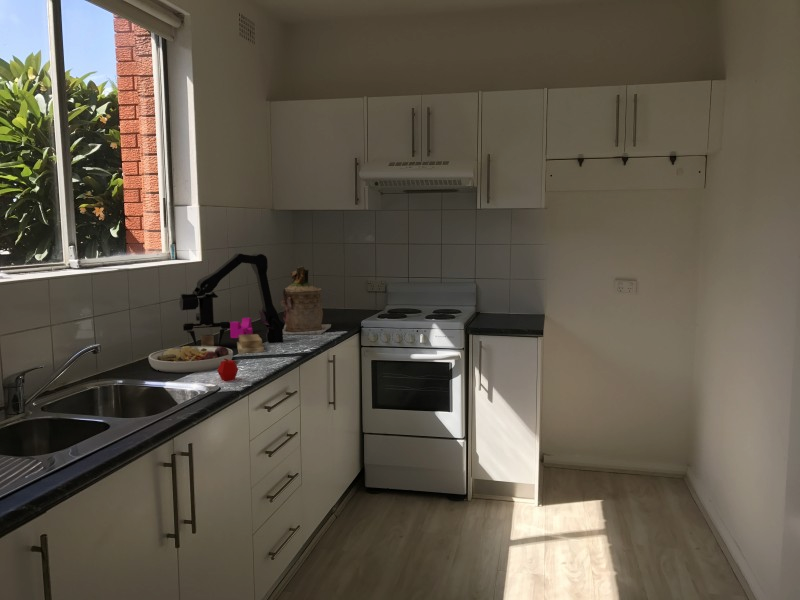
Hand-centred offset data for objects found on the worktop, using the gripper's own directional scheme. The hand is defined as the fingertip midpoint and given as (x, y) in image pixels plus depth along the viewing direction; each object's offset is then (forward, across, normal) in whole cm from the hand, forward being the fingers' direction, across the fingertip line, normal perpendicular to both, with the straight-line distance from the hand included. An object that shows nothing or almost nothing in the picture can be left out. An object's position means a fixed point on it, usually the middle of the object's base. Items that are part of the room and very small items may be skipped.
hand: (207, 345), depth 282 cm
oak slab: (-1, -17, +7) cm, 18 cm away
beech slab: (+2, -17, +7) cm, 18 cm away
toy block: (+2, -17, -30) cm, 34 cm away
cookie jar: (+2, -45, -34) cm, 56 cm away
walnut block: (+2, 0, 0) cm, 2 cm away
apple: (+2, -6, +61) cm, 61 cm away
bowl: (+2, +6, +31) cm, 32 cm away
